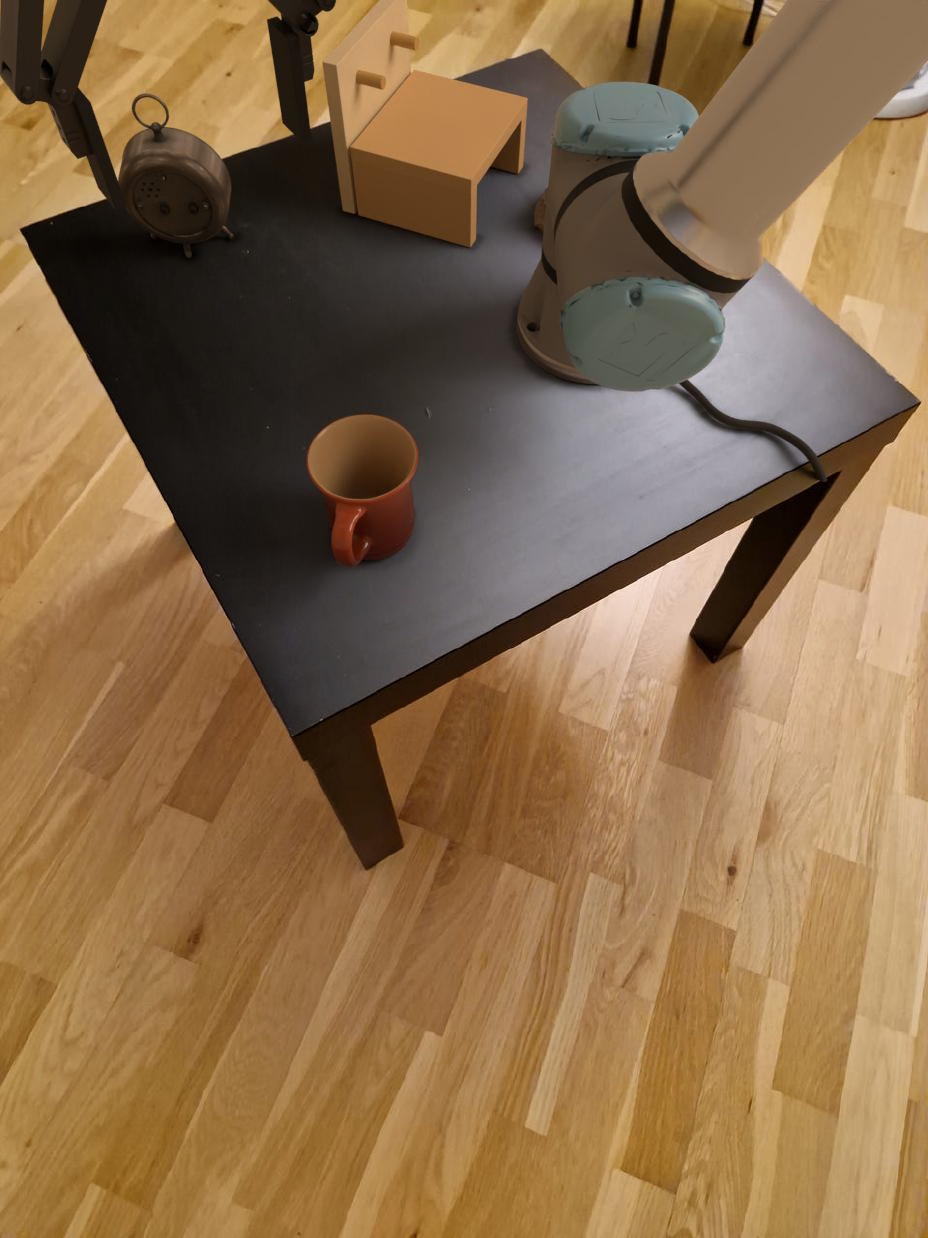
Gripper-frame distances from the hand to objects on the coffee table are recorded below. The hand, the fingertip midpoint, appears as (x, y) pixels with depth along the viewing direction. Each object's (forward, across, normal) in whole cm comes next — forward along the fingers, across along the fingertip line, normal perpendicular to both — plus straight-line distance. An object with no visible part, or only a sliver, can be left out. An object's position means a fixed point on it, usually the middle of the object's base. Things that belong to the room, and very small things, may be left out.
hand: (208, 163), depth 55 cm
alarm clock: (+28, -6, -29) cm, 41 cm away
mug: (+27, -1, +16) cm, 31 cm away
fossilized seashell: (+26, -44, -6) cm, 52 cm away
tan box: (+26, -34, -21) cm, 48 cm away
